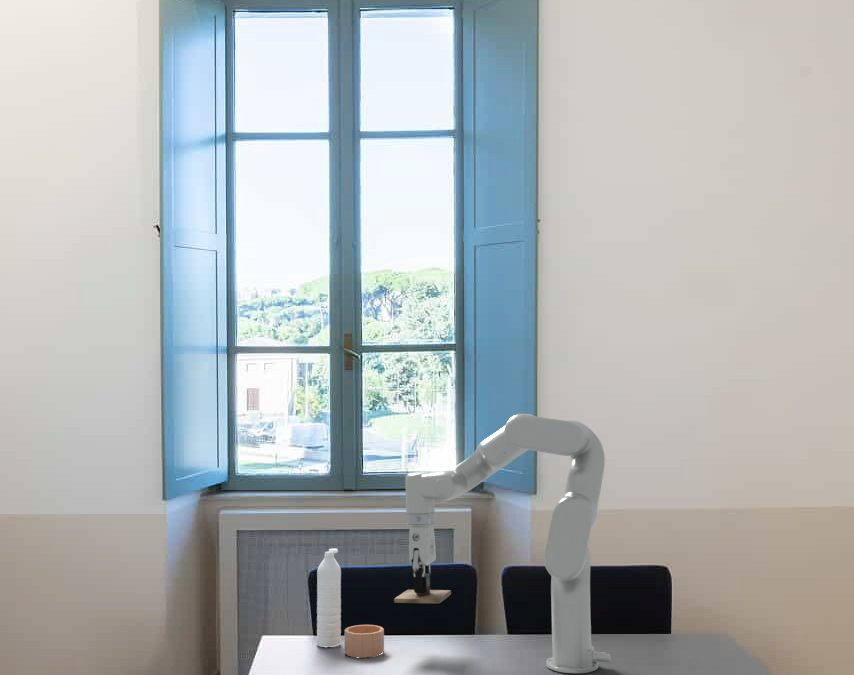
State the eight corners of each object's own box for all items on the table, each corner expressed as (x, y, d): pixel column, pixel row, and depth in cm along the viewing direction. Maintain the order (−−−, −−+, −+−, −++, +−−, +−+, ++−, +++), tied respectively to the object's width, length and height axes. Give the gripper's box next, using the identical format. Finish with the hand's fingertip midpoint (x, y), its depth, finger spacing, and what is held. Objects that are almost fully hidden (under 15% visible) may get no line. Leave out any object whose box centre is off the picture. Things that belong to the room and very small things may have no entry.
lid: (450, 594, 223) (450, 571, 224) (439, 603, 212) (438, 579, 212) (407, 593, 226) (407, 570, 227) (394, 602, 215) (393, 578, 216)
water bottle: (337, 649, 224) (337, 553, 226) (313, 648, 225) (314, 553, 227) (345, 640, 232) (345, 548, 235) (323, 639, 233) (323, 548, 236)
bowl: (388, 649, 223) (388, 625, 224) (376, 659, 214) (376, 635, 214) (352, 646, 226) (352, 623, 226) (339, 656, 216) (339, 632, 217)
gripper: (426, 523, 212) (428, 597, 210) (442, 516, 228) (444, 585, 226) (397, 523, 214) (399, 597, 212) (415, 516, 230) (417, 584, 228)
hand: (422, 590), depth 219 cm, fingers closed on lid, 3 cm apart
